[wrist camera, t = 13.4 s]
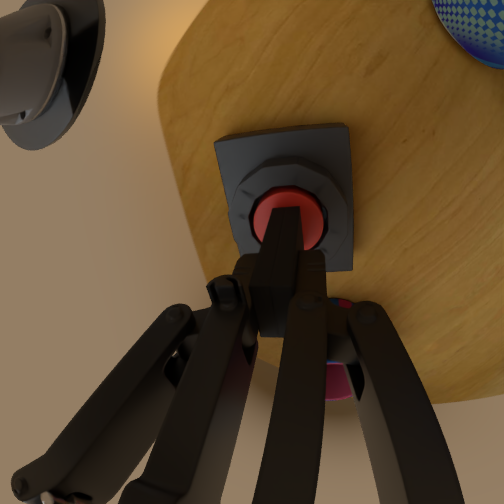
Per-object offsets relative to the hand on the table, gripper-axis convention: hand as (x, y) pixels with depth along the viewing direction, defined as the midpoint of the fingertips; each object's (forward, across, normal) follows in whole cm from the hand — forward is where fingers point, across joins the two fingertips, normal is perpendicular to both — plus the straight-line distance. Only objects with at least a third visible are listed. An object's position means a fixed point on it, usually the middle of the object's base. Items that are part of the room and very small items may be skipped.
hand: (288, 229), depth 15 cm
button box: (+5, 0, 0) cm, 5 cm away
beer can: (+5, +16, +14) cm, 22 cm away
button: (+2, 0, 0) cm, 2 cm away
